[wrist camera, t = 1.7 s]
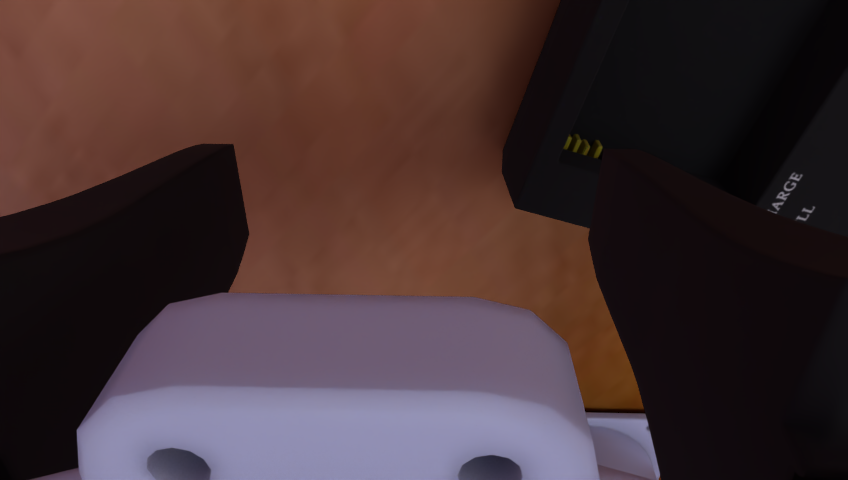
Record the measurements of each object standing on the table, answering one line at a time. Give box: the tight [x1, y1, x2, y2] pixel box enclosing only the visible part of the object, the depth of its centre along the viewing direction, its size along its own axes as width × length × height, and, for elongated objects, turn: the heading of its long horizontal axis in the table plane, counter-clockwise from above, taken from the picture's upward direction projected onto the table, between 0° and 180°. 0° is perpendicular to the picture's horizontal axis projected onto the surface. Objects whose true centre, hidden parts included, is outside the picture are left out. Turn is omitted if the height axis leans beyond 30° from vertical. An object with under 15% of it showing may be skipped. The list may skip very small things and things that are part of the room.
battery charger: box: [502, 0, 848, 237], centre depth 17 cm, size 13×10×4 cm
